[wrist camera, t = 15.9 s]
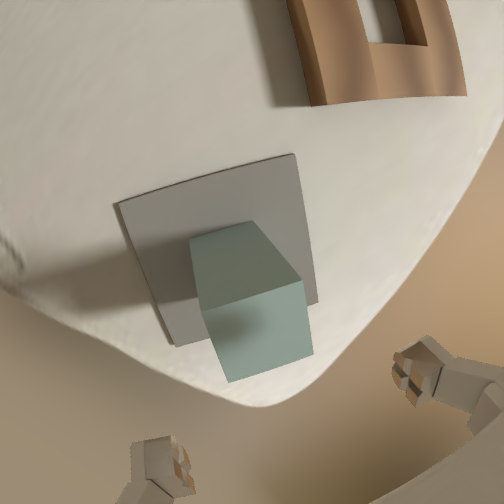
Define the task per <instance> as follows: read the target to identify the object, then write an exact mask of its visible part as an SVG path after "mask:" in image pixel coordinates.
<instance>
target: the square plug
mask: <svg viewBox="0 0 504 504" xmlns="http://www.w3.org/2000/svg"><path fill="white" fill-rule="evenodd" d="M189 244H190V251H191V257H192V264H193V270H194V276H195V282H196V288H197V294H198V300H199V305H200V311H201V314H202V317H203V320H204V322H205V325H206V328H207V330H208V333H209V336H210V338H211V341H212V343H213V346H214V348H215V351H216V354H217V356H218V359H219V361H220V364H221V366H222V369H223V371H224V373H225V376H226V378H227V381H228V383H230V382H234V381H237V380H240V379H244V378H247V377H250V376H253V375H256V374H259V373H262V372H265V371H268V370H271V369H274V368H277V367H280V366H283V365H286V364H289V363H292V362H294V361H297V360H300V359H303V358H305V357H308V356H311V355H313V354H314V353H313V346H312V339H311V332H310V325H309V318H308V311H307V304H306V298H305V291H304V285H303V280H302V278H301V277H300V276H299V275H298V274H297V272H296V271H295V270H294V269H293V268H292V266H291V265H290V264H289V263H288V262H287V260H286V259H285V258H284V257H283V255H282V254H281V253H280V252H279V251H278V249H277V248H276V247H275V246H274V245H273V243H272V242H271V241H270V240H269V239H268V238H267V236H266V235H265V234H264V233H263V232H262V230H261V229H260V228H259V227H258V226H257V224H256V223H255V222H254V221H249V222H246V223H242V224H239V225H236V226H232V227H229V228H225V229H222V230H218V231H215V232H212V233H208V234H205V235H202V236H198V237H195V238H192V239H189Z"/></svg>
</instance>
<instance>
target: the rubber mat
mask: <svg viewBox="0 0 504 504" xmlns="http://www.w3.org/2000/svg"><path fill="white" fill-rule="evenodd" d="M119 207H120V210H121V213H122V216H123V219H124V222H125V225H126V227H127V230H128V233H129V236H130V239H131V241H132V244H133V247H134V249H135V252H136V255H137V257H138V260H139V262H140V265H141V268H142V270H143V273H144V275H145V278H146V280H147V283H148V285H149V287H150V290H151V292H152V295H153V297H154V299H155V302H156V304H157V306H158V309H159V311H160V313H161V316H162V318H163V320H164V322H165V325H166V327H167V329H168V331H169V334H170V336H171V338H172V340H173V342H174V344H175V346H176V347H180V346H183V345H187V344H190V343H194V342H197V341H201V340H204V339H208V338H210V336H209V333H208V330H207V328H206V325H205V322H204V320H203V317H202V314H201V311H200V305H199V300H198V294H197V288H196V282H195V276H194V270H193V264H192V257H191V251H190V244H189V239H192V238H195V237H198V236H202V235H205V234H208V233H212V232H215V231H218V230H222V229H225V228H229V227H232V226H236V225H239V224H242V223H246V222H249V221H254V222H255V223H256V224H257V226H258V227H259V228H260V229H261V230H262V232H263V233H264V234H265V235H266V236H267V238H268V239H269V240H270V241H271V242H272V243H273V245H274V246H275V247H276V248H277V249H278V251H279V252H280V253H281V254H282V255H283V257H284V258H285V259H286V260H287V262H288V263H289V264H290V265H291V266H292V268H293V269H294V270H295V271H296V272H297V274H298V275H299V276H300V277H301V278H302V280H303V285H304V291H305V298H306V304H307V306H309V305H312V304H315V303H318V295H317V287H316V280H315V273H314V265H313V258H312V252H311V245H310V238H309V232H308V225H307V219H306V213H305V207H304V201H303V195H302V189H301V184H300V178H299V173H298V167H297V162H296V157H295V154H289V155H284V156H280V157H276V158H272V159H267V160H263V161H259V162H255V163H251V164H247V165H243V166H239V167H235V168H231V169H228V170H224V171H220V172H217V173H213V174H209V175H206V176H202V177H199V178H195V179H192V180H188V181H185V182H182V183H178V184H175V185H172V186H168V187H165V188H162V189H159V190H155V191H152V192H149V193H146V194H143V195H140V196H137V197H134V198H131V199H128V200H125V201H122V202H119Z"/></svg>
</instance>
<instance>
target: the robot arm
mask: <svg viewBox="0 0 504 504" xmlns="http://www.w3.org/2000/svg"><path fill="white" fill-rule="evenodd" d="M393 360H394V361H395V364H394V366H393V367H392V377H393V380H394V382H395V384H396V385H397V386H398V388H399V389H402V390H405V391H406V397H407V399H408V400H409V401H410V402H411V403H412V405H413V406H414V407H415V408H416V407H418V406H420V405H421V404H423V403H425V402H426V401H428V400H430V399H431V398H433V399H435V400H437V401H440V402H442V403H445V404H448V405H450V406H452V407H455V408H457V409H460V410H463V411H465V412H468V413H471V414H472V415H471V417H470V419H469V420H468V422H467V426H466V427H467V428H468V429H469V431H471V433H472V434H473V435H474V436H473V437H472V438H471V439H470V440H468V441H467V442H466V443H465V444H463V445H462V446H461V447H460V448H458V449H457V450H455V451H454V452H453V453H451V454H450V455H448V456H447V457H446V458H444V459H443V460H441V461H440V462H439V463H437V464H436V465H434V466H433V467H431V468H430V469H428V470H427V471H425V472H423V473H422V474H420V475H419V476H417V477H416V478H414V479H412V480H411V481H409V482H407V483H406V484H404V485H402V486H401V487H399V488H397V489H395V490H393V491H392V492H390V493H388V494H386V495H384V496H382V497H381V498H379V499H377V500H375V501H373V502H371V503H369V504H504V367H500V366H495V365H491V364H487V363H482V362H478V361H474V360H469V359H465V358H461V357H457V358H454V357H453V356H452V355H451V354H450V353H449V352H448V351H447V350H445V349H444V348H443V347H442V346H441V345H440V344H439V343H438V342H437V341H436V340H434V339H433V338H432V337H431V336H429V335H426V336H424V337H422V338H421V339H419V340H417V341H415V342H413V343H411V344H409V345H407V346H406V347H404V348H402V349H400V350H398V351H397V352H395V354H394V357H393ZM130 450H131V451H130V452H131V453H130V454H131V480H132V482H129V483H128V484H127V485H126V487H125V488H124V490H123V492H122V494H121V495H120V497H119V498H118V500H117V502H116V503H115V504H173V502H174V498H179V497H184V496H189V495H193V494H196V491H195V486H194V481H193V478H192V477H191V476H190V475H189V474H188V473H189V471H190V469H191V465H190V461H189V458H188V455H187V453H186V451H185V449H184V448H183V446H181V445H178V443H177V439H176V438H175V437H174V435H170V436H165V437H160V438H155V439H149V440H143V441H138V442H132V444H131V447H130Z"/></svg>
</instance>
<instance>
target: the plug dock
mask: <svg viewBox="0 0 504 504" xmlns="http://www.w3.org/2000/svg"><path fill="white" fill-rule="evenodd" d="M395 2H396V5H397V9H398V12H399V16H400V19H401V23H402V27H403V31H404V35H405V39H406V43H407V45H405V44H388V43H368V41H367V37H366V33H365V29H364V25H363V21H362V18H361V14H360V11H359V7H358V4H357V0H286V3H287V7H288V10H289V14H290V18H291V21H292V25H293V29H294V33H295V37H296V41H297V45H298V49H299V53H300V57H301V61H302V66H303V70H304V74H305V79H306V83H307V88H308V93H309V97H310V102H311V107H312V106H323V105H332V104H339V103H348V102H356V101H366V100H377V99H389V98H404V97H425V96H467V91H466V84H465V78H464V72H463V67H462V61H461V56H460V52H459V47H458V43H457V38H456V34H455V30H454V26H453V23H452V19H451V15H450V12H449V8H448V5H447V2H446V0H395Z"/></svg>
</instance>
